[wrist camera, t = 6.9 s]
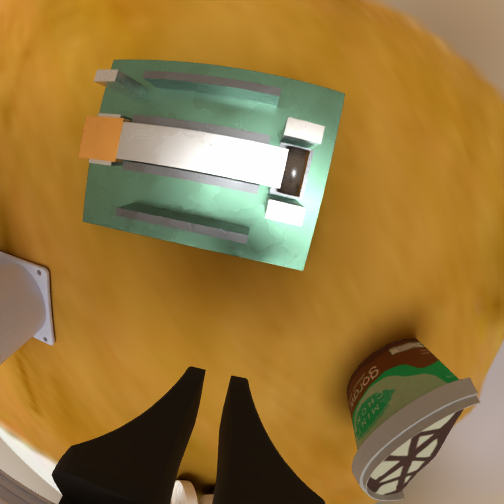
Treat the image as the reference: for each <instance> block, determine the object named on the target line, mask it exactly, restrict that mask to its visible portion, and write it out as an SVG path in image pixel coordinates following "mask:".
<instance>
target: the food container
mask: <svg viewBox="0 0 504 504" xmlns="http://www.w3.org/2000/svg"><path fill="white" fill-rule="evenodd" d="M477 394H478V393H477V391H476V389H475V387H474V385H473V383H472V381H471V379H470V378H465V379H460V380H459V379H458V378H457V377H456V376H455V375H454V374H453V373H452V372H451V371H450V370H449V369H448V368H447V367H446V366H445V365H444V364H443V363H441V362H440V361H439V360H438V359H437V358H436V357H435V356H434V355H433V354H432V353H431V352H430V351H429V350H428V349H427V348H426V347H425V346H424V345H422V344H421V343H420V342H419V341H418V340H417V339H404V340H401V341H397V342H394V343H391V344H388V345H386V346H385V347H383V348H381V349H379V350H378V351H376V352H374V353H373V354H371V355H370V356H369V357H368V358H367V359H366V360H365V361H364V362H362V363H361V364H360V365H359V367H358V368H357V369H356V371H355V372H354V374H353V375H352V377H351V379H350V381H349V384H348V388H347V397H348V403H349V407H350V412H351V417H352V423H353V428H354V433H355V438H356V444H357V450H358V451H357V453H356V455H355V457H354V459H353V463H352V472H353V474H354V476H355V478H356V480H357V482H358V483H359V485H360V487H361V489H362V490H363V491H364V492H366V493H367V495H369V496H370V497H371V498H373V499H375V500H380V501H395V500H401V499H404V494H403V490H402V489H403V488H404V487H406V485H407V484H408V482H409V481H410V480H411V479H412V478H413V477H414V476H415V475H416V473H417V472H419V471H420V470H421V469H422V468H423V467H424V466H426V465H427V464H428V463H429V462H430V461H431V460H432V459H433V458H434V457H435V456H436V454H437V453H438V451H439V449H440V448H441V446H442V444H443V442H444V441H445V439H446V437H447V435H448V434H449V432H450V430H451V428H452V427H453V425H454V423H455V422H456V420H457V419H458V417H459V416H460V414H461V413H462V411H463V409H464V408H467V407H469V406H472V405H476V404H480V401H479V400H478V398H477V397H476V395H477Z"/></svg>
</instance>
